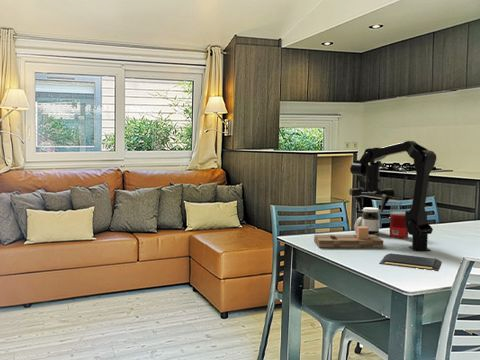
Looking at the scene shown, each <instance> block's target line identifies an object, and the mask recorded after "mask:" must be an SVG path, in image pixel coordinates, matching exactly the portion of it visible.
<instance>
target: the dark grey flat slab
mask: <svg viewBox="0 0 480 360" xmlns="http://www.w3.org/2000/svg"><path fill="white" fill-rule="evenodd" d="M378 264H379V265H383V266H393V267H401V268H409V269H416V268H418V269H419V270H424V269H426V270H425V271H432V270H434V271H433V272H439V270H440V268H441V267H442V264H443V262H442V260H440V259H437V258H434V257H426V256H418V255H417V256H416V255H408V254H399V253H391V252H390V253H387V254H386V255H384V256H383V258H382V259H381V260H380V262H379V263H378ZM418 269H417V270H418Z"/></svg>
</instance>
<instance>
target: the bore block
mask: <svg viewBox="0 0 480 360" xmlns="http://www.w3.org/2000/svg"><path fill="white" fill-rule="evenodd" d="M313 237H314V238H313V241H314V243H315V244H316V246H317V247H318V249H383V248H384V240H383V239H382V238H380V237H379V236H378V235H377V234H368V239H357V238H356V234H314V235H313Z"/></svg>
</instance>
